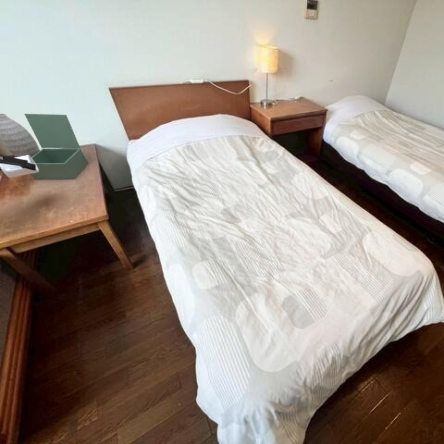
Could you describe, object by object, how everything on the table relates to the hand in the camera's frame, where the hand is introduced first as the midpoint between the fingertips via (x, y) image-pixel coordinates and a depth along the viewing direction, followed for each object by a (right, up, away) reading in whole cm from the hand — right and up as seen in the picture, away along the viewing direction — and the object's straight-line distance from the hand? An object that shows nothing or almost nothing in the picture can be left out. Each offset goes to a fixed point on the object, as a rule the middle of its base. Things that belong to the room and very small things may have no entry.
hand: (18, 167), depth 111 cm
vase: (-33, +11, +37) cm, 51 cm away
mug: (+1, -4, +2) cm, 4 cm away
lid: (-11, +26, +27) cm, 39 cm away
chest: (-11, +5, +33) cm, 35 cm away
